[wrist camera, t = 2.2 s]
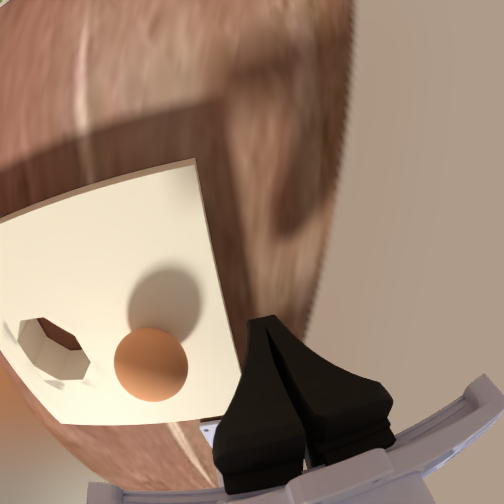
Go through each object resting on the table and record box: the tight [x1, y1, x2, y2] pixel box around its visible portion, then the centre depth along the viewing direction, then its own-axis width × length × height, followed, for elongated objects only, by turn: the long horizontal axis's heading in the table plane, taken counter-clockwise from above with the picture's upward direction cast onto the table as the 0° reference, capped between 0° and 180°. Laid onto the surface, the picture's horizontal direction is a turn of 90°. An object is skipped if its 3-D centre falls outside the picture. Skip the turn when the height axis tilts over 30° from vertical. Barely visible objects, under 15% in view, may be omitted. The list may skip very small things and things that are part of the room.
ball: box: [114, 328, 188, 402], centre depth 12 cm, size 4×4×4 cm
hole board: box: [0, 158, 242, 425], centre depth 14 cm, size 16×16×3 cm
